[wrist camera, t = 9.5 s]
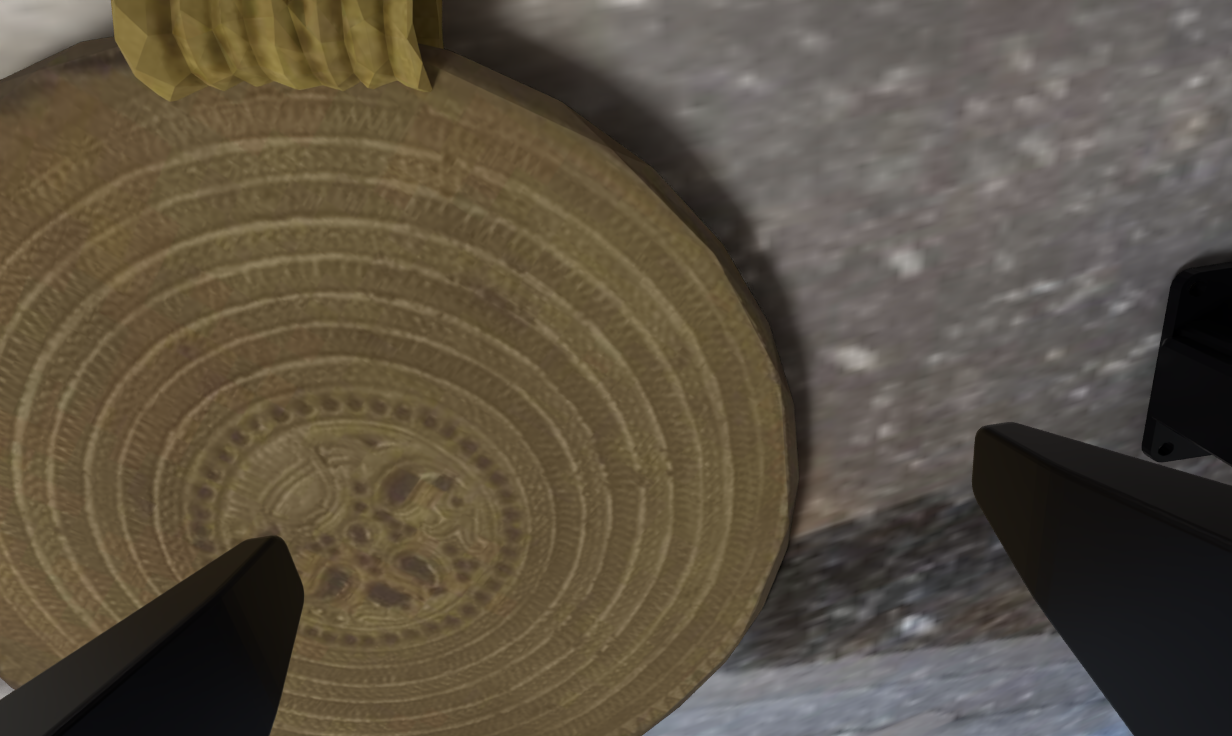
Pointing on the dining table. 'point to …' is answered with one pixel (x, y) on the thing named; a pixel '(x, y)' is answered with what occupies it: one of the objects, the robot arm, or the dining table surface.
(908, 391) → the dining table surface
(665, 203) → the decorative disc
